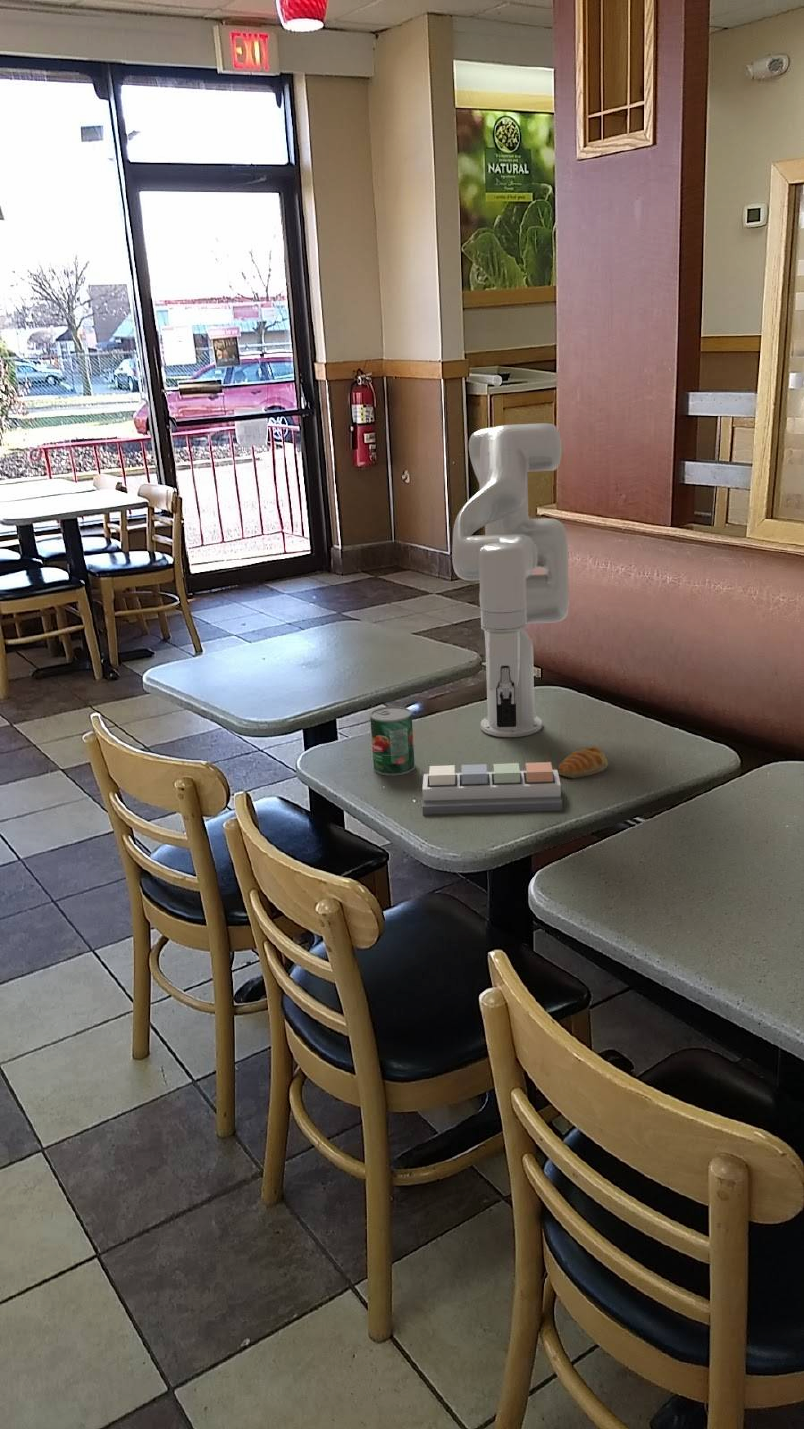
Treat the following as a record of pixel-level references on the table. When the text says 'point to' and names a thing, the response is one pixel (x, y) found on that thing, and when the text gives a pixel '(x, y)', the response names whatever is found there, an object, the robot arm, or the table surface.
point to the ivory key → (442, 775)
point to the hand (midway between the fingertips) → (506, 717)
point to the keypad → (492, 796)
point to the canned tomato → (392, 740)
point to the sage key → (506, 773)
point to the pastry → (583, 763)
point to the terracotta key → (539, 772)
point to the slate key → (474, 774)
